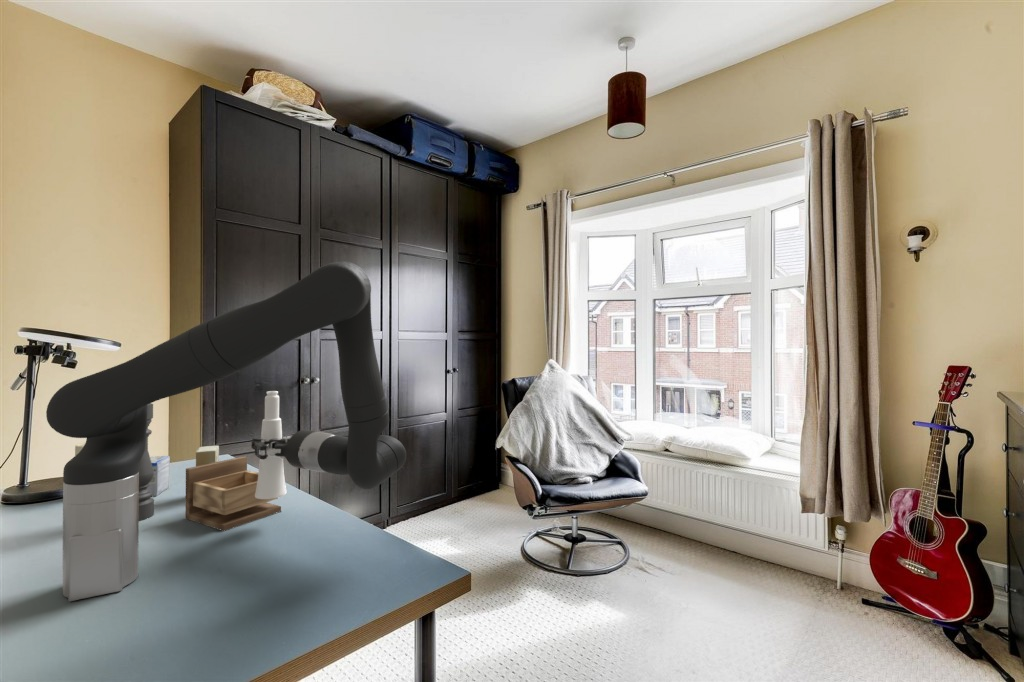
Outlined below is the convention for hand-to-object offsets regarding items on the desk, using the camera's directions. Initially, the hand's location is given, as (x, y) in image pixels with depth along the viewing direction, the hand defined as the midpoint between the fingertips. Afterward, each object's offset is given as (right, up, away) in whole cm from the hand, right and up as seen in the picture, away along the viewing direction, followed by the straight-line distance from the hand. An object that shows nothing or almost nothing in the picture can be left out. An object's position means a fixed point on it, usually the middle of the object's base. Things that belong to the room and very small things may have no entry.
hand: (262, 441), depth 102 cm
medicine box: (-39, -18, +21) cm, 48 cm away
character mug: (-54, -18, +19) cm, 60 cm away
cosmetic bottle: (+2, -11, -1) cm, 12 cm away
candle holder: (-30, -18, +3) cm, 35 cm away
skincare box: (-23, -18, +18) cm, 34 cm away
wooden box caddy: (-8, -18, +5) cm, 20 cm away
